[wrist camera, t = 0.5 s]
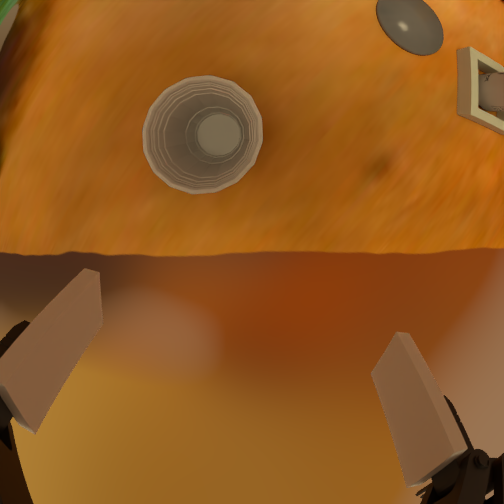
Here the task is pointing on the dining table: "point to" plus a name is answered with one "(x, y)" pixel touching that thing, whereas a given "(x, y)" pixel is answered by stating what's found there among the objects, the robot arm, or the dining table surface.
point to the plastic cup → (202, 134)
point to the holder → (475, 88)
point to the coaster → (411, 25)
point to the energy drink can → (491, 91)
